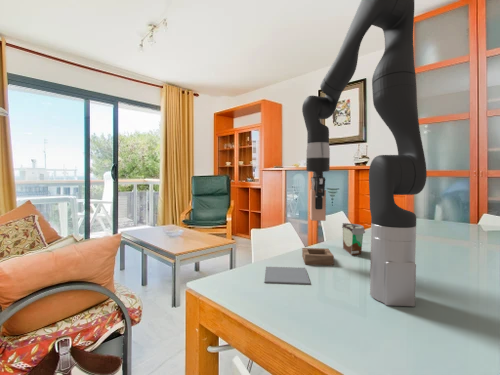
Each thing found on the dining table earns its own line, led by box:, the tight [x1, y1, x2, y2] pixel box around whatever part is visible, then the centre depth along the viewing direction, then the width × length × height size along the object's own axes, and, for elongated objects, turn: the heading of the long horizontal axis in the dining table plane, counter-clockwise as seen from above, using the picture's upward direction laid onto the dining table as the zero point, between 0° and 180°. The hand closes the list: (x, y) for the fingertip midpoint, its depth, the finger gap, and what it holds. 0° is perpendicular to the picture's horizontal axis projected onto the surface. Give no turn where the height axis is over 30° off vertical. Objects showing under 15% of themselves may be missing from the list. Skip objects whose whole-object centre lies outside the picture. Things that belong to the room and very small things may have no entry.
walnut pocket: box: [301, 247, 335, 266], centre depth 91 cm, size 9×9×3 cm
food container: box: [341, 222, 366, 257], centre depth 102 cm, size 12×6×10 cm, turn 179°
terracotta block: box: [309, 189, 327, 222], centre depth 91 cm, size 4×4×10 cm
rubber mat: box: [264, 266, 311, 285], centre depth 77 cm, size 12×12×1 cm
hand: (317, 208), depth 91 cm, fingers closed on terracotta block, 4 cm apart
